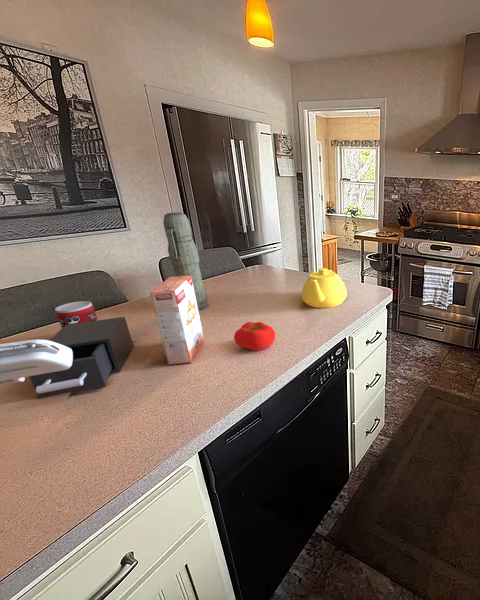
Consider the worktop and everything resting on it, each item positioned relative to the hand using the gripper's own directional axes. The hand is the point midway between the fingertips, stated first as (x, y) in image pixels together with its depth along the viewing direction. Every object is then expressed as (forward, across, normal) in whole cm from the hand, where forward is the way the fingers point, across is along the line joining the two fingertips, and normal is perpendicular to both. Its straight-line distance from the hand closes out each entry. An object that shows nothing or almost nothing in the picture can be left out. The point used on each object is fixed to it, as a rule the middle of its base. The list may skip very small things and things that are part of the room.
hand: (13, 379), depth 57 cm
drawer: (+23, 0, -4) cm, 23 cm away
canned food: (+45, +8, -25) cm, 52 cm away
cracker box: (+29, -21, -9) cm, 37 cm away
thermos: (+56, -20, -36) cm, 70 cm away
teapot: (+46, -66, -26) cm, 84 cm away
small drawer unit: (+31, 0, -12) cm, 33 cm away
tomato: (+26, -39, -6) cm, 48 cm away
